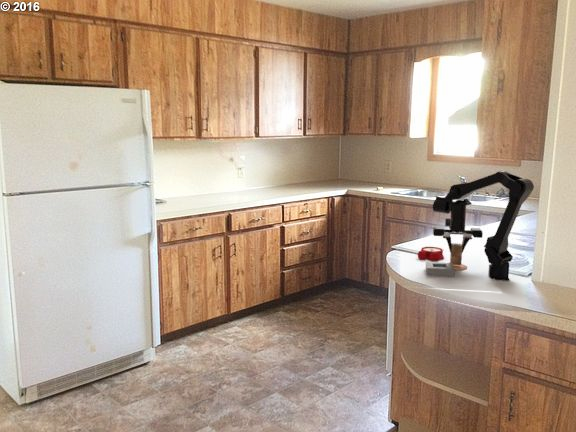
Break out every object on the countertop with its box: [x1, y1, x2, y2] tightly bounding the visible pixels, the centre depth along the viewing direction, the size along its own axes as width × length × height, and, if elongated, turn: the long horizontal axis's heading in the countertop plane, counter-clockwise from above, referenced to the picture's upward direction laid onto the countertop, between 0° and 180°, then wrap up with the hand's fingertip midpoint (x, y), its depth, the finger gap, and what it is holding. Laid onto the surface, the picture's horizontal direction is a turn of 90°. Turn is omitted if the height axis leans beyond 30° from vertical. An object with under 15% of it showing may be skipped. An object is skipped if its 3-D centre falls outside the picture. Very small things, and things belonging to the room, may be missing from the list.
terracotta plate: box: [453, 263, 468, 271], centre depth 216 cm, size 9×9×1 cm
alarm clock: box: [417, 246, 445, 262], centre depth 232 cm, size 10×6×15 cm
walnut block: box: [449, 242, 463, 265], centre depth 215 cm, size 4×4×8 cm
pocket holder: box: [425, 261, 455, 278], centre depth 208 cm, size 10×10×4 cm
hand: (456, 252), depth 215 cm, fingers closed on walnut block, 4 cm apart
